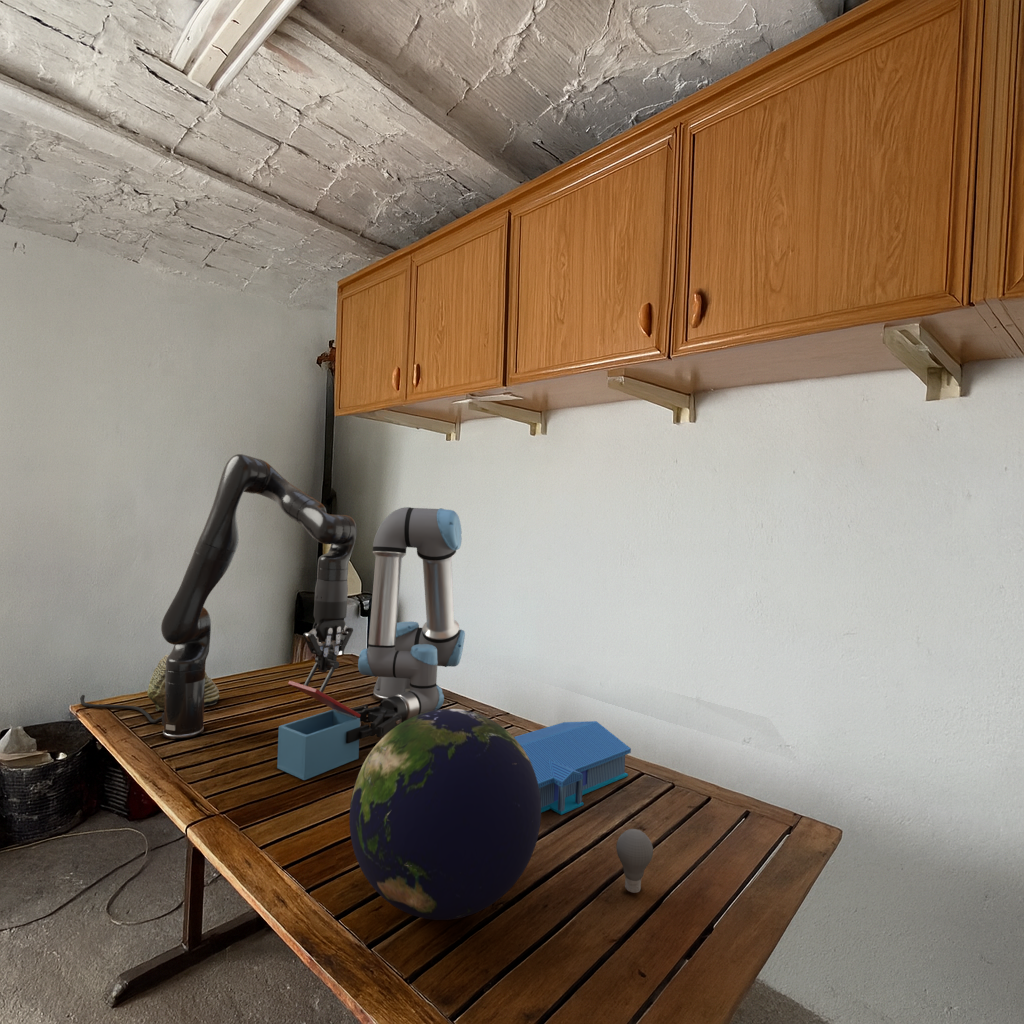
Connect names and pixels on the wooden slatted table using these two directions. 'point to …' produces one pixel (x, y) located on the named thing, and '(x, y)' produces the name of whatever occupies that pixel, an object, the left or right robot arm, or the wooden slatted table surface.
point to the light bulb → (634, 857)
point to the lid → (319, 693)
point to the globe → (445, 814)
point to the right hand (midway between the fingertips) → (332, 732)
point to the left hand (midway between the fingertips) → (326, 670)
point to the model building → (573, 762)
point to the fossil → (158, 687)
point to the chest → (316, 744)
